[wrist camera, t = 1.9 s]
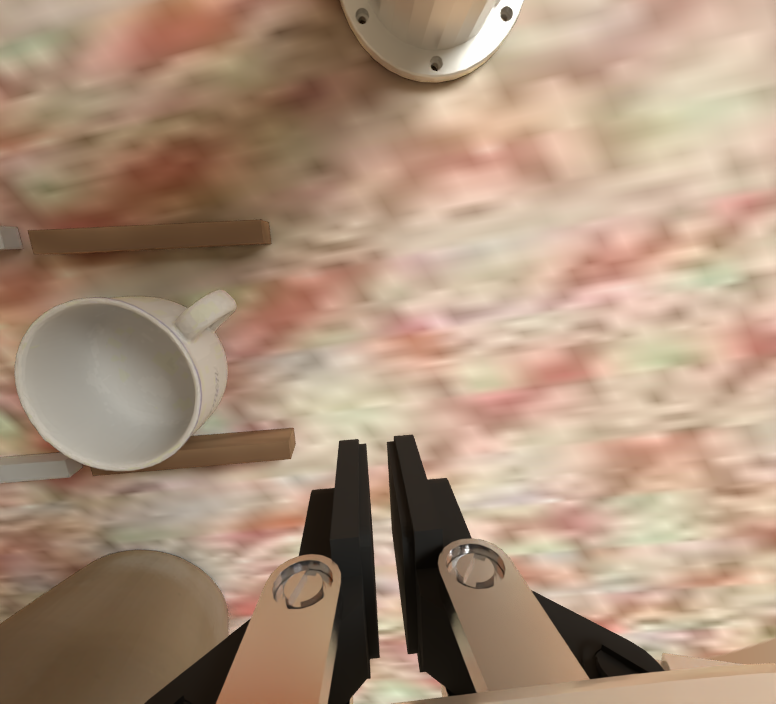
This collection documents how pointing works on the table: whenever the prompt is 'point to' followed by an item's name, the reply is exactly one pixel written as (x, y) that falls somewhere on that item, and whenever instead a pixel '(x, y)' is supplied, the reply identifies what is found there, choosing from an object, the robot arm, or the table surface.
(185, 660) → the plant pot
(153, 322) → the teacup
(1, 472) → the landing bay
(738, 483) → the table surface
